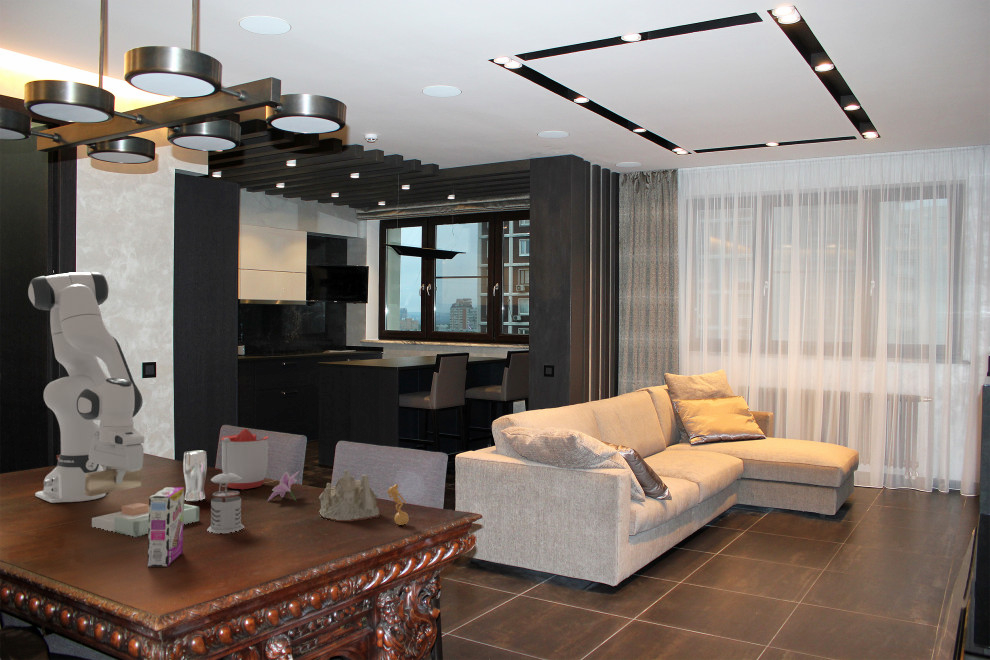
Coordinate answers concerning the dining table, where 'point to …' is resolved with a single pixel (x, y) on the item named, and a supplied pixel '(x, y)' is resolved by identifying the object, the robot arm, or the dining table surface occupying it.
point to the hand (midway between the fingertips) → (113, 482)
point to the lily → (284, 485)
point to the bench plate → (108, 520)
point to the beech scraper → (110, 481)
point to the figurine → (401, 516)
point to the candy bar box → (165, 526)
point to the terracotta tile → (135, 509)
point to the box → (142, 525)
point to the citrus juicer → (245, 459)
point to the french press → (226, 504)
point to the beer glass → (195, 474)
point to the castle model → (348, 499)
